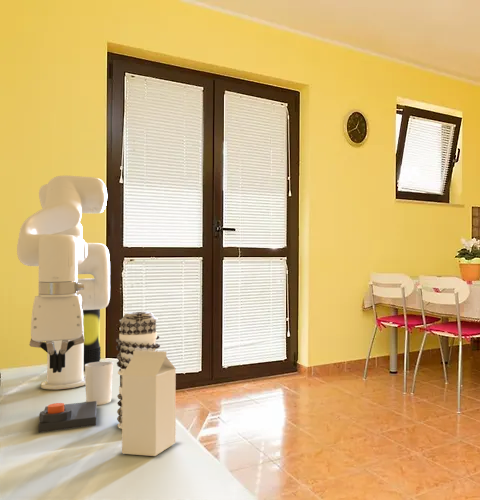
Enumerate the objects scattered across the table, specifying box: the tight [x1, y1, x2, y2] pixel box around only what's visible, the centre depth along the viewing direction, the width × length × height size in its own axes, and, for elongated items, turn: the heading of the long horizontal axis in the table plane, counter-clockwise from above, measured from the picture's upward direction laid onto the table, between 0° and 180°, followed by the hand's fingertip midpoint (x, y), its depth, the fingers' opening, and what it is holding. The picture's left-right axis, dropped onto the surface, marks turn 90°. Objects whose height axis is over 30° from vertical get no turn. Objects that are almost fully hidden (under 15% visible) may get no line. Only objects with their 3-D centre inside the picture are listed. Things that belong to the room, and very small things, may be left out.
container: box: [83, 309, 102, 372], centre depth 178 cm, size 11×11×30 cm
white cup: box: [84, 360, 114, 406], centre depth 134 cm, size 7×7×10 cm
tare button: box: [47, 402, 65, 414], centre depth 114 cm, size 3×3×2 cm
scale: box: [38, 401, 97, 433], centre depth 119 cm, size 15×11×4 cm
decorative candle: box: [115, 311, 161, 430], centre depth 116 cm, size 9×9×25 cm
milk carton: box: [121, 350, 177, 457], centre depth 100 cm, size 7×7×19 cm
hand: (57, 371), depth 115 cm, fingers closed
